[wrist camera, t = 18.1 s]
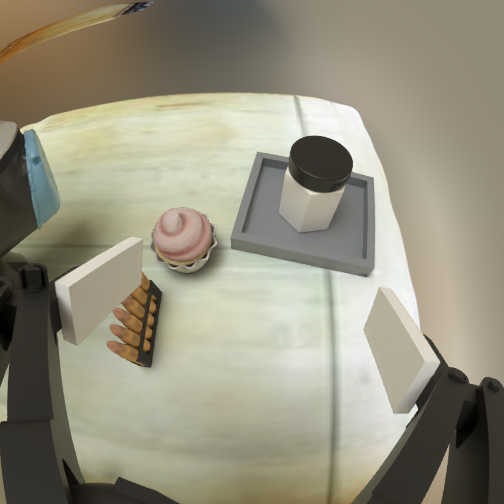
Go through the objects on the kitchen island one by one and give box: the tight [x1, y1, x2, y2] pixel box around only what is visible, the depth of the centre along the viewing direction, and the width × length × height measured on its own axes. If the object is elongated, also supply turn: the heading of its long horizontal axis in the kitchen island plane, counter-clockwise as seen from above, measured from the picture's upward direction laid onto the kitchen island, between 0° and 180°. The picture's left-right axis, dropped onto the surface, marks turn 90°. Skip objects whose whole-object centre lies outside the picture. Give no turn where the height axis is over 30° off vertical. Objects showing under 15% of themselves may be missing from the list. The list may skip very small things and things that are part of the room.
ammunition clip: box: [107, 272, 162, 367], centre depth 32 cm, size 11×2×12 cm, turn 177°
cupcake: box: [149, 207, 217, 273], centre depth 38 cm, size 9×9×10 cm
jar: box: [279, 136, 353, 233], centre depth 40 cm, size 9×8×12 cm
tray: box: [231, 152, 375, 277], centre depth 45 cm, size 20×17×3 cm
